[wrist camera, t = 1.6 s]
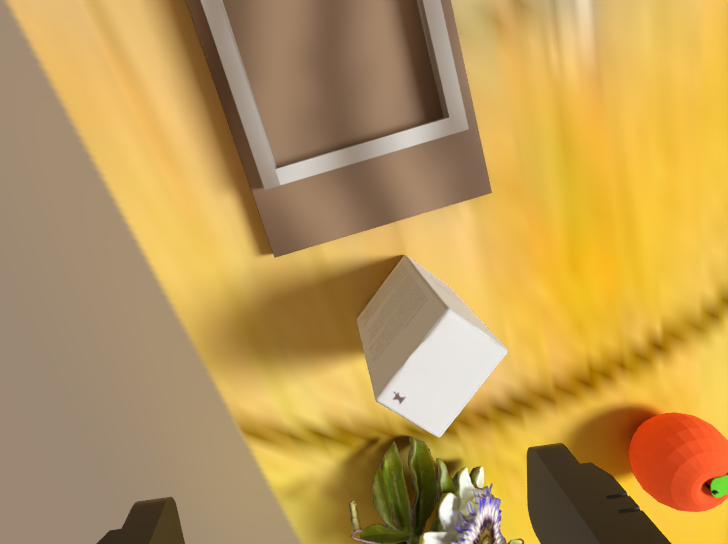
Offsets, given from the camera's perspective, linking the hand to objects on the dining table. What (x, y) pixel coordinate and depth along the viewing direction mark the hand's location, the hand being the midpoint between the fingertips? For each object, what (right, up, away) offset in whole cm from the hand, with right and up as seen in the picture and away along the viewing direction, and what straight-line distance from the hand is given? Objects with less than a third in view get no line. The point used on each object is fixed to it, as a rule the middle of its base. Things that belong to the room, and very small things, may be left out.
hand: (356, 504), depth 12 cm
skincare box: (+3, +3, +26) cm, 26 cm away
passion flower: (+5, -13, +30) cm, 33 cm away
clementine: (+24, -8, +31) cm, 39 cm away
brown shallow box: (-1, +17, +21) cm, 27 cm away
